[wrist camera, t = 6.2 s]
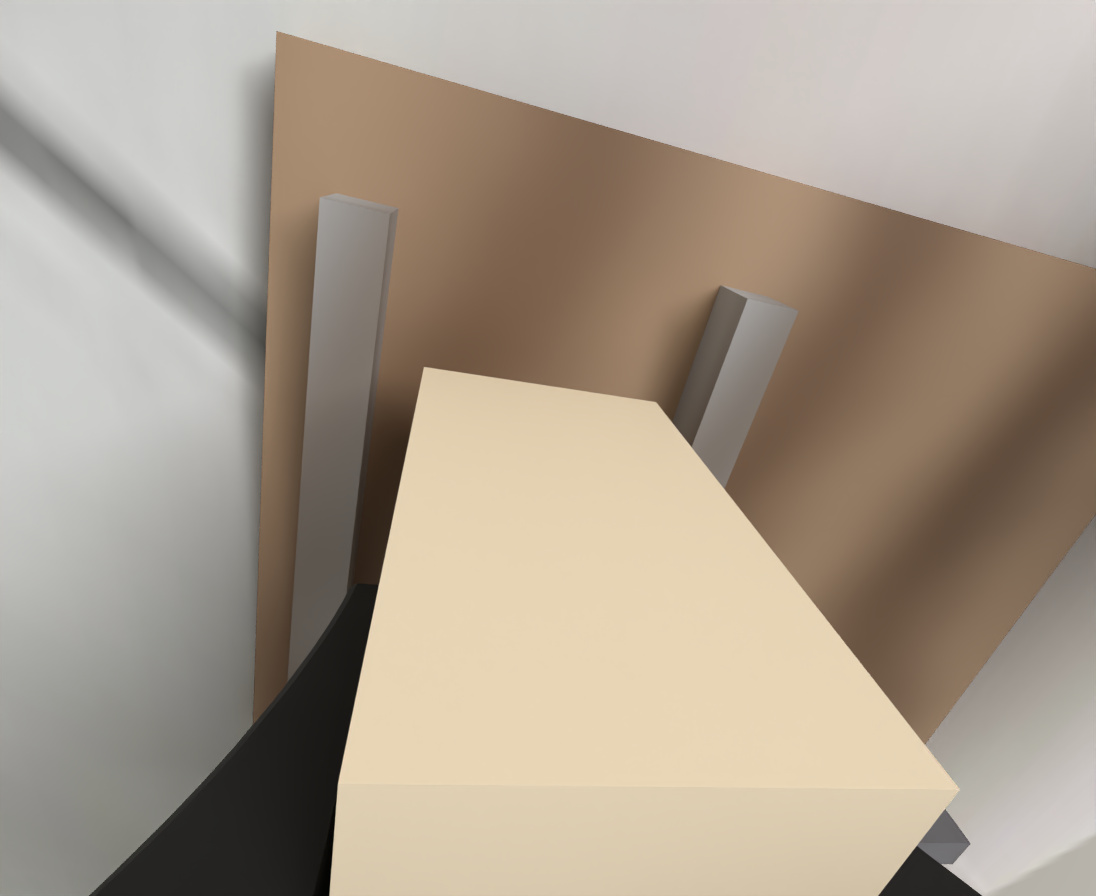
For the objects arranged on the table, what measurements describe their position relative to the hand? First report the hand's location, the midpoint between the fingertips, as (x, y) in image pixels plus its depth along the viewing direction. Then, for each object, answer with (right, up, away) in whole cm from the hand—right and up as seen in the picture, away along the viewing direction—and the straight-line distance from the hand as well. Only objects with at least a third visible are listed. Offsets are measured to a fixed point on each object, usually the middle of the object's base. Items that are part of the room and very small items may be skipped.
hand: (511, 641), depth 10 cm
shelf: (+4, +1, +5) cm, 7 cm away
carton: (0, +1, +2) cm, 2 cm away
